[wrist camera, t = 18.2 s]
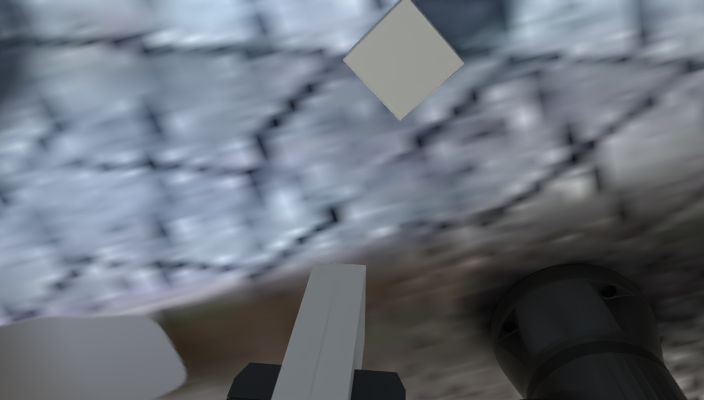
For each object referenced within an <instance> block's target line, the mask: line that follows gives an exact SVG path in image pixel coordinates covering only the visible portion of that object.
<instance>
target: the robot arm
mask: <svg viewBox="0 0 704 400" xmlns="http://www.w3.org/2000/svg"><path fill="white" fill-rule="evenodd" d="M365 285H366V265H351V264H333V263H316V262H314V265H313V268H312V272H311V275H310V278H309V281H308V284H307V287H306V291H305V294H304V297H303V300H302V303H301V306H300V310H299V313H298V316H297V319H296V322H295V325H294V329H293V332H292V335H291V338H290V341H289V345H288V348H287V351H286V354H285V357H284V360H283V364H282V365H275V364H262V363H249V364H248V365H247V366H246V367H245V368H244V369H243V370H242V371H241V372H240V373H239V374H238V375H237V376H236V377H235V379H234V381H233V383H232V386H231V388H230V391H229V393H228V395H227V400H406V390H405V388H404V386H403V384H402V382H401V380H400V378H399V376H398V374H397V372H384V371H371V370H361V366H362V357H363V348H364V338H365ZM490 333H491V340H492V344H493V349H494V353H495V356H496V359H497V361H498V363H499V365H500V367H501V369H502V371H503V372H504V373H505V375H506V376H507V377H508V379H509V380H510V381H511V383H512V384H513V385H514V387H515V388H516V389H517V391H518V392H519V393H520V395H521V396H522V397H523V398H524V399H522V400H688V399H687V398H686V396H685V395H684V393H683V392H682V390H681V389H680V387H679V386H678V384H677V383H676V381H675V380H674V378H673V377H672V376H671V374H670V372H669V371H668V369H667V368H666V366H665V365H664V360H663V354H662V348H661V342H660V337H659V331H658V325H657V321H656V318H655V315H654V313H653V311H652V309H651V307H650V306H649V304H648V303H647V301H646V300H645V299H644V297H643V296H642V294H641V293H640V292H639V290H638V289H637V288H636V287H635V286H634V285H633V284H632V283H631V282H630V281H629V280H627V279H626V278H624V277H623V276H621V275H619V274H618V273H616V272H613V271H611V270H608V269H605V268H602V267H597V266H592V265H582V264H573V265H562V266H556V267H552V268H548V269H545V270H542V271H539V272H537V273H534V274H532V275H530V276H528V277H526V278H525V279H523V280H521V281H520V282H518V283H517V284H516V285H515V286H513V287H512V288H511V289H510V290H509V291H508V292H507V293H506V294H505V295H504V296H503V298H502V299H501V300H500V302H499V303H498V305H497V307H496V309H495V311H494V314H493V317H492V320H491V327H490Z"/></svg>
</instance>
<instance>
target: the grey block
mask: <svg viewBox="0 0 704 400" xmlns="http://www.w3.org/2000/svg"><path fill="white" fill-rule="evenodd" d="M343 60H344V62H345V63H346V64H347V65H348V66H349V67H350V68H351V69H352V70H353V71H354V72H355V73H356V74H357V75H358V77H359V78H360V79H361V80H362V81H363V82H364V83H365V84H366V85H367V86H368V87H369V88H370V89H371V90H372V92H373V93H374V94H375V95H376V96H377V97H378V98H379V99H380V100H381V101H382V102H383V103H384V104H385V105H386V106H387V108H388V109H389V110H390V111H391V112H392V113H393V114H394V115H395V116H396V117H397V118H398V119H399V120H401V119H402V118H403V117H404V116H406V115H407V114H408V113H409V112H410V111H411V110H412V109H413V108H415V107H416V106H417V105H418V104H419V103H420V102H421V101H423V100H424V99H425V98H426V97H427V96H428V95H429V94H430V93H432V92H433V91H434V90H435V89H436V88H437V87H438V86H440V85H441V84H442V83H443V82H444V81H445V80H446V79H447V78H449V77H450V76H451V75H452V74H453V73H454V72H455V71H457V70H458V69H459V68H460V67H461V66H462V65H463V64H464V62H463V61H462V59H461V58H460V56H459V54H458V53H457V51H456V50H455V49H454V48H453V47H452V45H451V44H450V43H449V42H448V41H447V40H446V38H445V37H444V36H443V35H442V34H441V33H440V31H439V30H438V29H437V28H436V27H435V26H434V24H433V23H432V22H431V21H430V20H429V19H428V17H427V16H426V15H425V14H424V13H423V12H422V10H421V9H420V8H419V7H418V6H417V4H416V3H415V2H414V1H413V0H399V1H398V2H397V3H396V4H395V5H394V6H393V7H392V8H391V9H390V10H389V11H388V12H387V13H386V14H385V15H384V16H383V17H382V18H381V19H380V20H379V21H378V22H377V23H376V24H375V25H374V26H373V27H372V28H371V29H370V30H369V31H368V32H367V33H366V34H365V35H364V36H363V37H362V38H361V39H360V40H359V41H358V42H357V43H356V44H355V45H354V46H353V47H352V48H351V50H350V51H349V52H348V54H347V55H346V57H345V58H344V59H343Z"/></svg>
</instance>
